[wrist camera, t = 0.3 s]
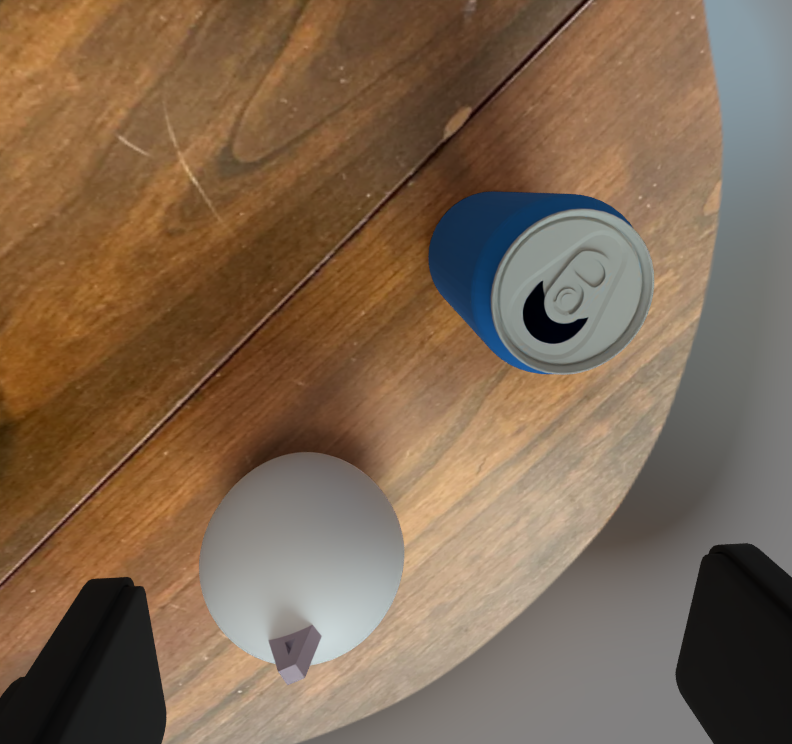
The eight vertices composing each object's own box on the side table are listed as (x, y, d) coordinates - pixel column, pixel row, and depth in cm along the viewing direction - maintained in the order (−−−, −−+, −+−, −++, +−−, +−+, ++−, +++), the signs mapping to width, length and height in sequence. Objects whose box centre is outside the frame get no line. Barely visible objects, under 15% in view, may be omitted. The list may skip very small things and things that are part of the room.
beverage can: (402, 266, 29) (439, 317, 18) (477, 164, 28) (569, 149, 17) (491, 334, 31) (577, 418, 20) (566, 241, 30) (704, 274, 18)
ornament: (317, 594, 36) (306, 783, 24) (190, 507, 33) (109, 676, 21) (426, 492, 34) (468, 644, 23) (301, 390, 31) (278, 507, 20)
